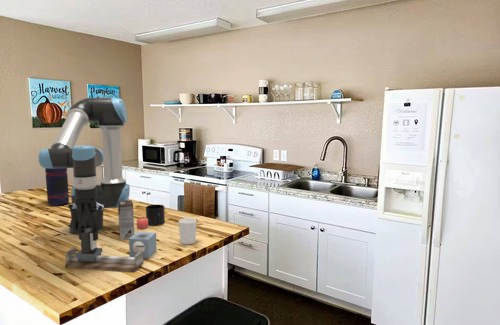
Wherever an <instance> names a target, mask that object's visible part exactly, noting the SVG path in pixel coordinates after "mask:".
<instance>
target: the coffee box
mask: <svg viewBox="0 0 500 325" xmlns="http://www.w3.org/2000/svg"><path fill="white" fill-rule="evenodd" d="M117 212H118V228H119V230H118V232H119V239H120V240H125V239H126V240H127V239H128V238H130V237H132V236H133V235H134V234H135V222H134V221H135V220H134V219H135V216H134V214H135V212H134V203H133V201H132V200H131V199H130V200H129V199H128V201H118V208H117ZM128 240H129V239H128Z"/></svg>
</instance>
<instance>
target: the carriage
mask: <svg viewBox="0 0 500 325" xmlns="http://www.w3.org/2000/svg"><path fill="white" fill-rule="evenodd" d="M91 232H92V230H91V228H87V229H86V230H84V231H82V232H80V234H81V240H80V247H81V248H80V250H78V251H76V257H77V258H78V261H81V262H96V256H98V255H102V253H103V247H98V246H97V247H96V248H95V249H93V250H91V244H90V233H91Z"/></svg>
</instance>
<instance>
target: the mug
mask: <svg viewBox="0 0 500 325" xmlns="http://www.w3.org/2000/svg"><path fill="white" fill-rule="evenodd" d="M145 218H147V219H148V226H152V227H157V226H161V225H163V224H165V222H166V221H165V205H163V204H158V203H157V204H150V205H146V206H145Z"/></svg>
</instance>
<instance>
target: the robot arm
mask: <svg viewBox="0 0 500 325" xmlns="http://www.w3.org/2000/svg"><path fill="white" fill-rule="evenodd" d="M127 114H128V113H127V107H126V105H125V102H124V100H123V99H121V98H118V97H86V98H83V99H80V100H77V102H75V103H74V104H73V105H71V106H70V107H69V108H68V110H67V112H66V114H65V121H64V123H63V124H62V126H61V128H60V130H59V131H58V133H57V135H56V137H55V140H53V143H52V145H51V146H50V148H42V149H41V150H40V151H39V153H38V163H39V165H40V167H41V168H42V169H45V168H52V169H54V168H67V169H72V170H73V171H72V172H73V186H72V187H71V189H70V192H71V194H70V198H71V199H70V200H71V203H70V204H69V205H68V209H69V211H70V216H71V220H70V222H69V226H68V229H69V233H71V234H74V235H78V239H79V241H81V234H80V232H82V231H84V230H86V229H87V228H91V230H92V232H91V233H90V244H91V250H93V249H95V248H96V247H97V248H98V246H97V241H98V239H99V231H102V230H103V229H104V210H105V209H118V201H129V198H130V191H131V187H130V184H128V183H127V180H126V179H125V178H124V177H123V156H122V153H123V152H122V129H123V128H124V126H125V123H127V122H128V115H127ZM88 123H97V126H98V128H99V129H100V130H101V139H102V140H101V143H102V145H101V146H102V150H101V149H100V148H98V147H95V146H93V145H88V144H87V145H85V144H84V145H76V144H77V142H78V140H79V137H80V136H81V133H82V131H83V128H84V127H85V126H87V124H88ZM102 164H103V166H102V167H103V179H102V180H100V184H98V182H97V167H100V166H101V165H102Z"/></svg>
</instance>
